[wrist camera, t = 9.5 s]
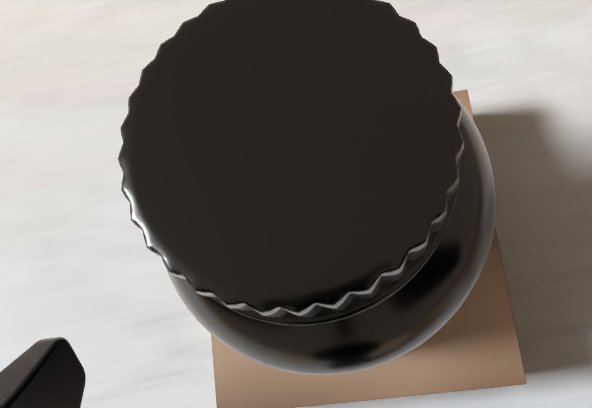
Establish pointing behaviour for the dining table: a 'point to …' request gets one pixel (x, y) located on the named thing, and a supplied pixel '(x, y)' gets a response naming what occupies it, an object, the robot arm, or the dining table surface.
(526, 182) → the dining table surface
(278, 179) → the supplement bottle
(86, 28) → the dining table surface
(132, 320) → the dining table surface
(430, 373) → the tan flat square block
